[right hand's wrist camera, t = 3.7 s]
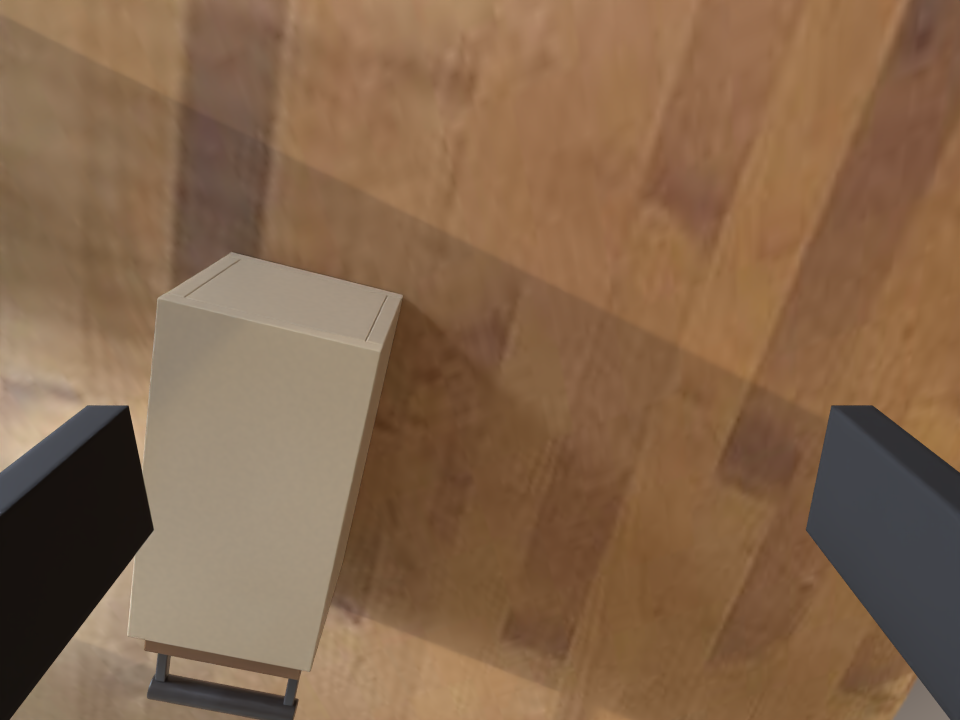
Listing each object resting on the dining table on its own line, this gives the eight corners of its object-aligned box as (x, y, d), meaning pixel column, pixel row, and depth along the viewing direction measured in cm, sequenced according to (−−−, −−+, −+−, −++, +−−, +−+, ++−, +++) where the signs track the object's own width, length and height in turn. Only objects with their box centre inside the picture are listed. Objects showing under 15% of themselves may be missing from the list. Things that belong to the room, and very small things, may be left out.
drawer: (313, 654, 47) (284, 750, 40) (187, 629, 46) (135, 722, 39) (381, 344, 39) (360, 398, 32) (228, 307, 38) (172, 354, 31)
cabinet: (342, 563, 45) (310, 672, 37) (195, 532, 45) (126, 636, 36) (403, 294, 39) (381, 351, 30) (231, 251, 38) (156, 297, 29)
